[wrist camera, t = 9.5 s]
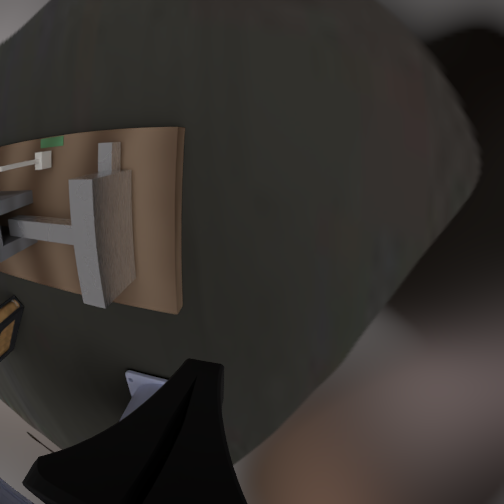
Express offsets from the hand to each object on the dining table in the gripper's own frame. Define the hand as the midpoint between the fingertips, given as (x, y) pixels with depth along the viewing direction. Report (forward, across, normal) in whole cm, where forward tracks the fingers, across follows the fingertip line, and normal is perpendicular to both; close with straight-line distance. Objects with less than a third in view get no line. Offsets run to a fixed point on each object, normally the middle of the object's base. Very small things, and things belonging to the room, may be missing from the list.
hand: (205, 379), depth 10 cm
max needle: (+8, +14, -7) cm, 18 cm away
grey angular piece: (+8, +12, -4) cm, 15 cm away
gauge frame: (+9, +16, -3) cm, 19 cm away
